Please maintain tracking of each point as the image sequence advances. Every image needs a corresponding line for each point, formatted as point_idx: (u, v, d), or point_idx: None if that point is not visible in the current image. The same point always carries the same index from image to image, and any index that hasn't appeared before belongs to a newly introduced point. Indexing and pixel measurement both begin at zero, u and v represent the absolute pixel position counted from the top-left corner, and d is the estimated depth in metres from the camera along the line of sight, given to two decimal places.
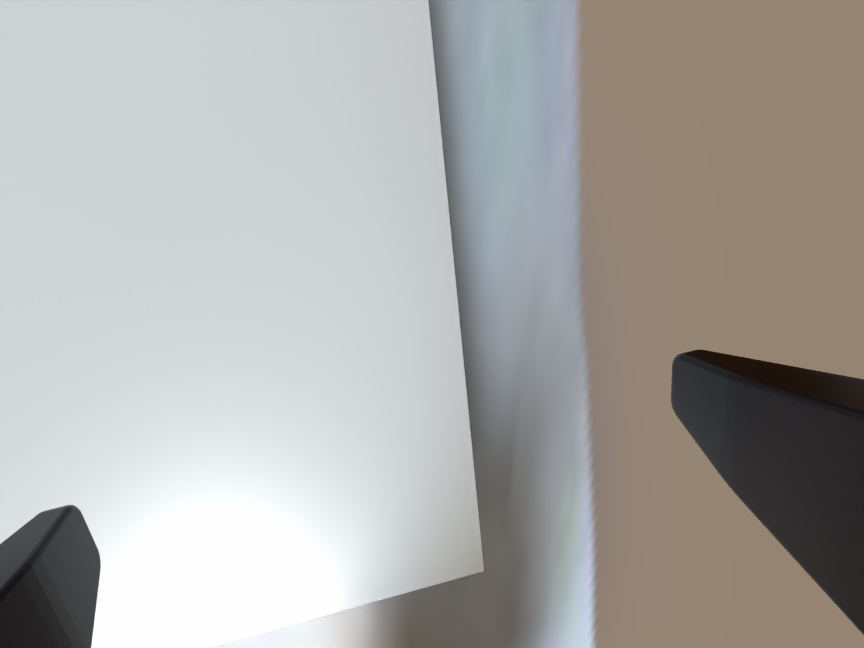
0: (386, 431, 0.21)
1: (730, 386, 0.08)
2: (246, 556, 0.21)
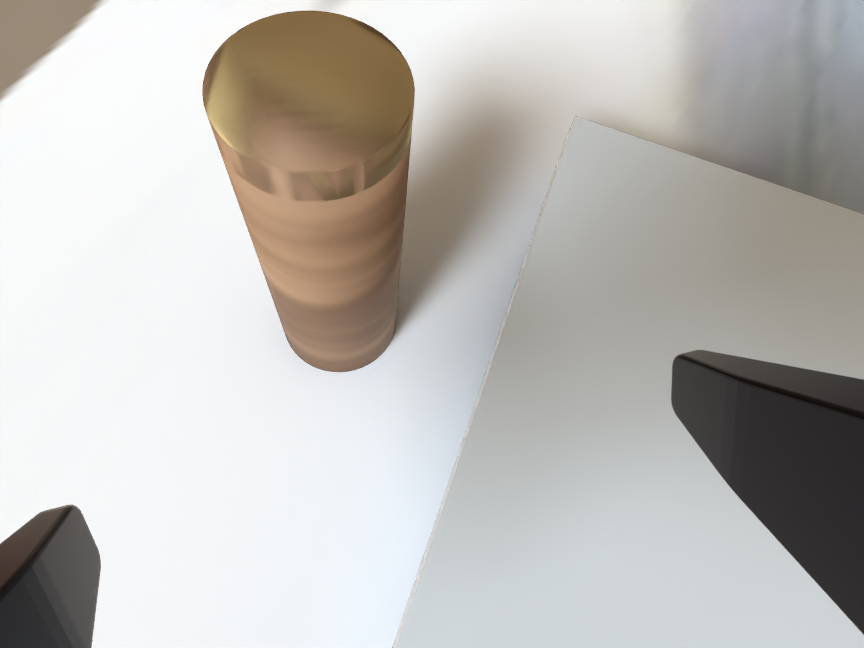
0: None
1: (730, 386, 0.08)
2: None
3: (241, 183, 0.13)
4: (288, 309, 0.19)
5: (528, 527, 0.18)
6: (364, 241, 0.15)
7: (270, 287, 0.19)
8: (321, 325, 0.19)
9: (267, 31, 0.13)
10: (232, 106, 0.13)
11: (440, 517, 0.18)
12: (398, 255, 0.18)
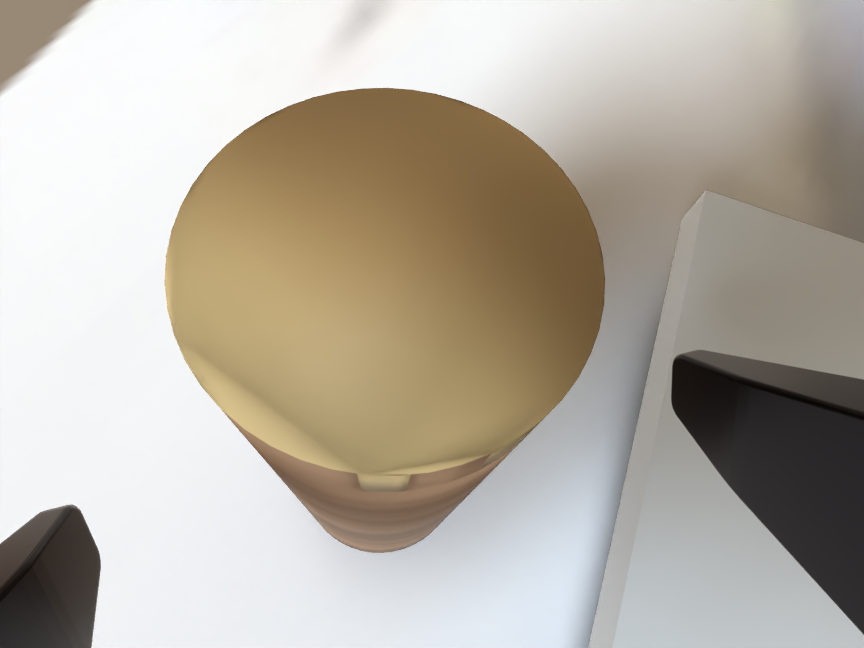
0: None
1: (730, 386, 0.08)
2: None
3: None
4: (318, 518, 0.12)
5: None
6: (468, 489, 0.08)
7: None
8: (368, 539, 0.13)
9: (299, 133, 0.07)
10: (228, 310, 0.06)
11: None
12: None
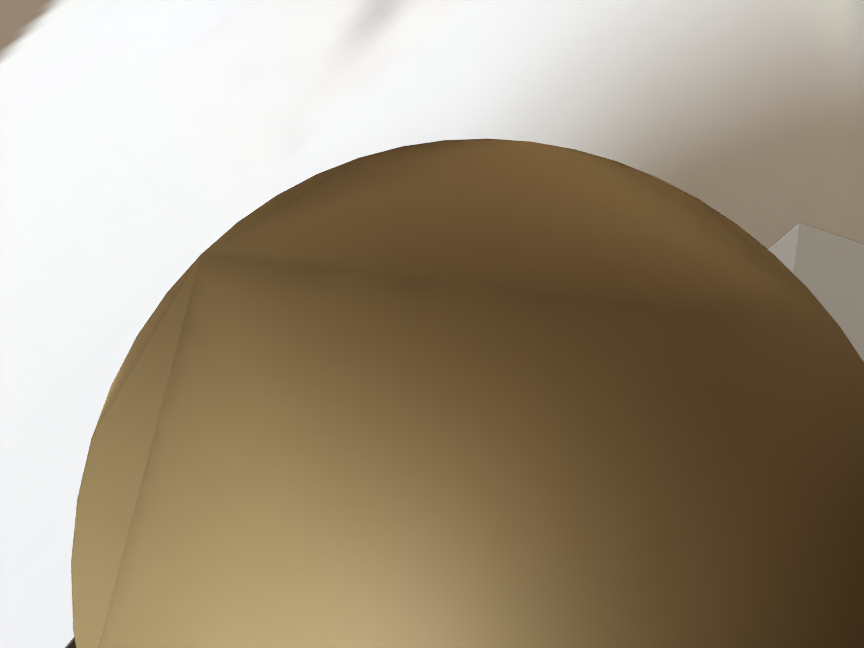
0: None
1: None
2: None
3: None
4: None
5: None
6: None
7: None
8: None
9: (338, 228, 0.04)
10: (201, 626, 0.03)
11: None
12: None
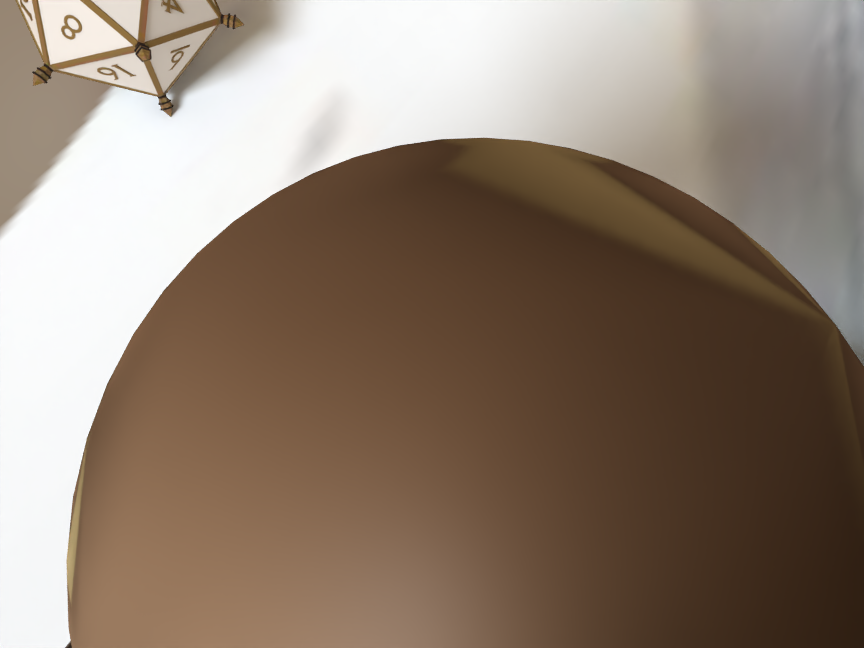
0: None
1: None
2: None
3: None
4: None
5: None
6: None
7: None
8: None
9: (334, 227, 0.04)
10: (197, 624, 0.03)
11: None
12: None
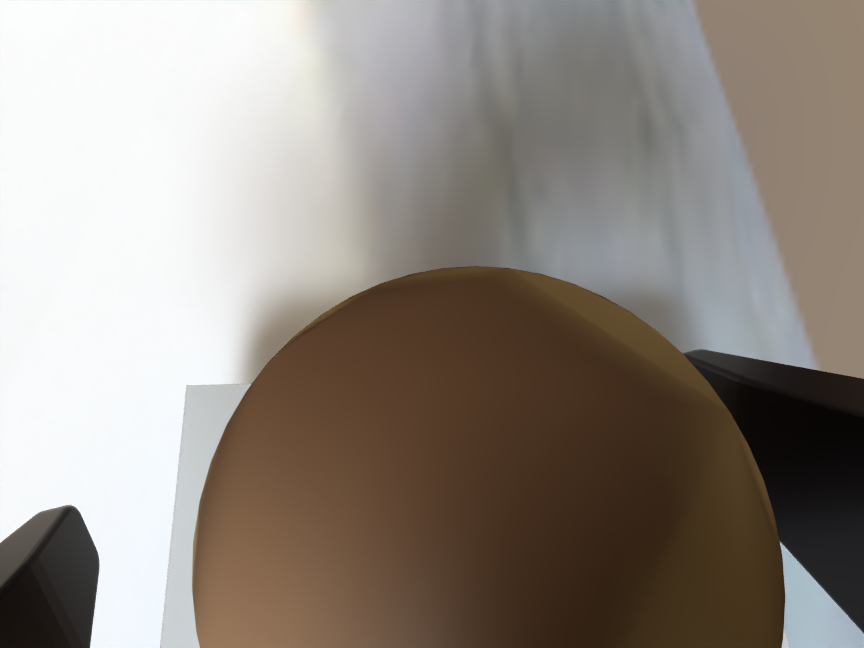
0: None
1: (731, 386, 0.08)
2: None
3: None
4: None
5: None
6: None
7: None
8: None
9: (366, 340, 0.05)
10: (282, 628, 0.04)
11: None
12: None
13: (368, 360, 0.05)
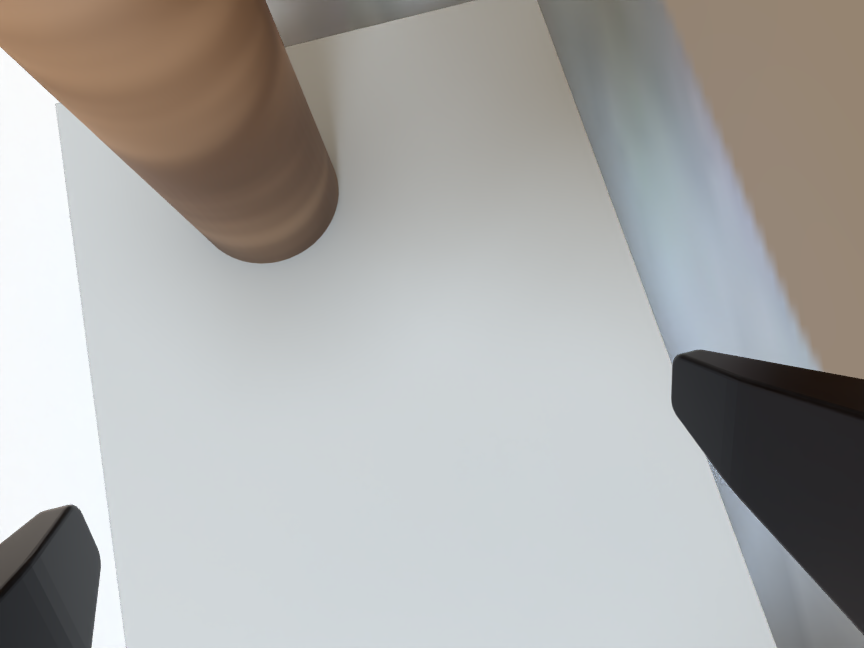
0: (590, 450, 0.17)
1: (730, 386, 0.08)
2: None
3: None
4: (154, 183, 0.14)
5: (217, 585, 0.16)
6: (171, 20, 0.09)
7: None
8: (207, 195, 0.14)
9: None
10: None
11: (126, 635, 0.16)
12: (273, 60, 0.12)
13: None
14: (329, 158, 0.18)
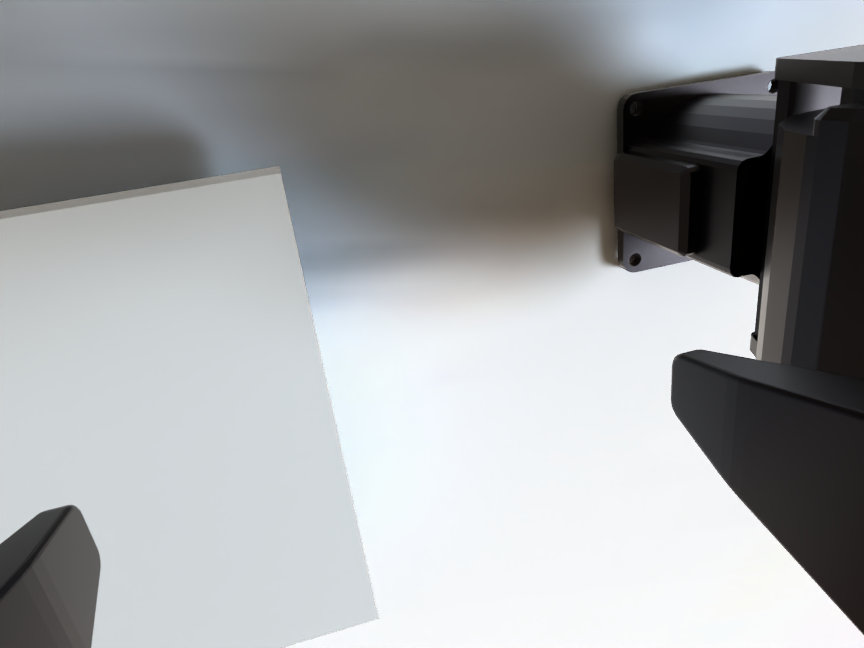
0: (25, 335, 0.16)
1: (730, 386, 0.08)
2: (225, 472, 0.19)
3: None
4: None
5: (175, 620, 0.20)
6: None
7: None
8: None
9: None
10: None
11: None
12: None
13: None
14: None
